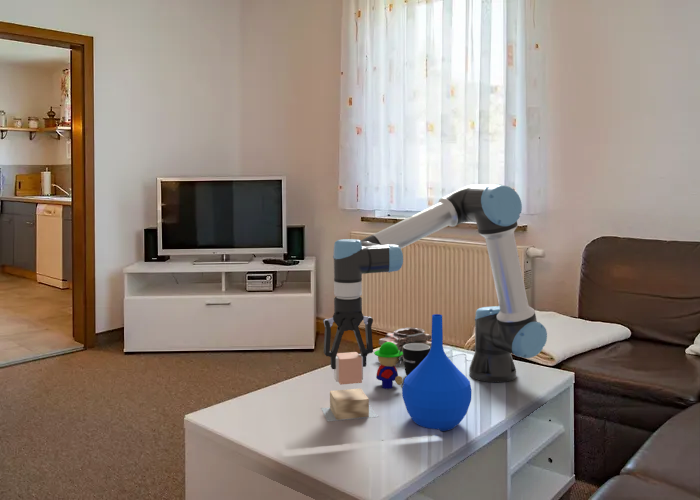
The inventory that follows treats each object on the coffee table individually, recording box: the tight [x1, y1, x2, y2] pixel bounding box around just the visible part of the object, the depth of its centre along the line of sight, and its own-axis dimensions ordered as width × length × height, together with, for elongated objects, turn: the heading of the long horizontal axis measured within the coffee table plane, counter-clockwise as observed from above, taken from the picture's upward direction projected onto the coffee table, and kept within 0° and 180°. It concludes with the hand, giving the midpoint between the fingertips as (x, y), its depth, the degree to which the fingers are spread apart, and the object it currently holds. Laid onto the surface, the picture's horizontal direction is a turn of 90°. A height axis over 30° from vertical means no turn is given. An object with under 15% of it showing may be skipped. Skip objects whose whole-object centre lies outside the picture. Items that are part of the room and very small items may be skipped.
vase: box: [401, 313, 473, 432], centre depth 172 cm, size 18×18×30 cm
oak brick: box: [329, 388, 370, 421], centre depth 179 cm, size 9×9×5 cm
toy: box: [373, 342, 404, 390], centre depth 201 cm, size 11×9×15 cm
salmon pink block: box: [336, 351, 363, 385], centre depth 178 cm, size 6×6×7 cm
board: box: [320, 403, 379, 422], centre depth 180 cm, size 14×10×1 cm
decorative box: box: [378, 326, 432, 360], centre depth 235 cm, size 13×20×10 cm, turn 119°
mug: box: [402, 343, 430, 377], centre depth 213 cm, size 12×9×10 cm
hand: (348, 379), depth 178 cm, fingers closed on salmon pink block, 6 cm apart
